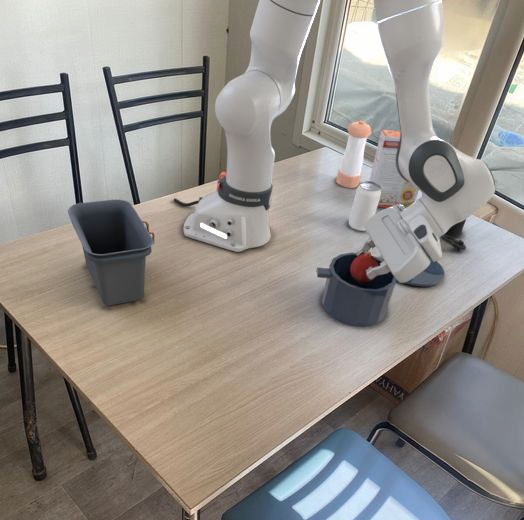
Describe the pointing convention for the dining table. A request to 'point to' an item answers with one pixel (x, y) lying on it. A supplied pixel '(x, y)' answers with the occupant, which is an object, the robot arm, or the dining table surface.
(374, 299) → the pot
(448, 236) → the milk frother
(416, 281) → the lid
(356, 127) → the pepper shaker
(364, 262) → the onion
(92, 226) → the storage bin
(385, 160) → the cracker box
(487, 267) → the dining table surface
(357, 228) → the can
